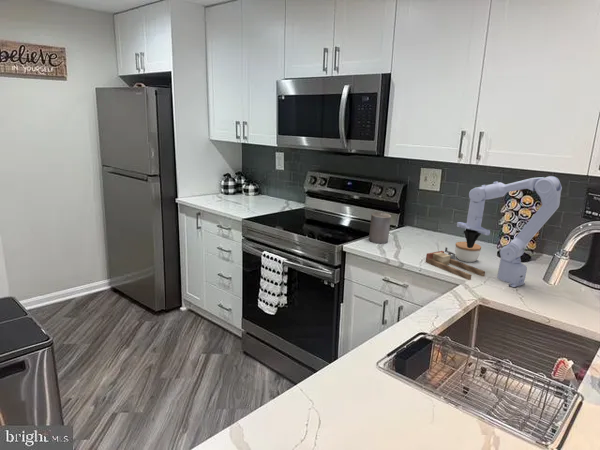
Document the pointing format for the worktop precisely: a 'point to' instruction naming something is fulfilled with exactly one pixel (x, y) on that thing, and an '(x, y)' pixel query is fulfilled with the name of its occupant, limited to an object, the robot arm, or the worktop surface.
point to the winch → (450, 254)
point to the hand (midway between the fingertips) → (469, 247)
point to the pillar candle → (379, 228)
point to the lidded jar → (467, 252)
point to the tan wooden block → (442, 258)
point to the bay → (452, 270)
